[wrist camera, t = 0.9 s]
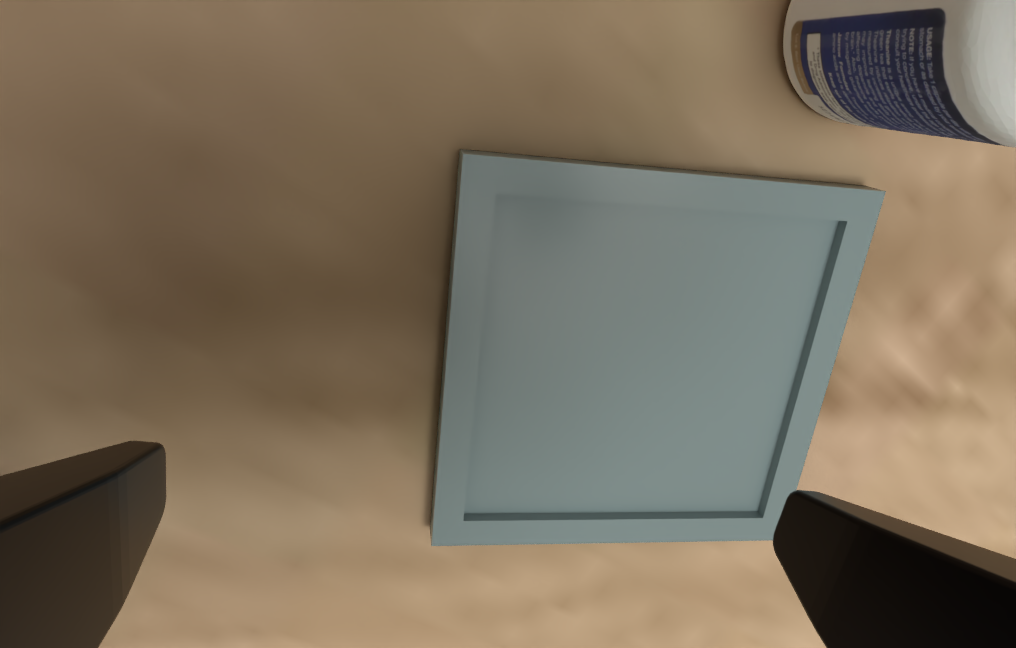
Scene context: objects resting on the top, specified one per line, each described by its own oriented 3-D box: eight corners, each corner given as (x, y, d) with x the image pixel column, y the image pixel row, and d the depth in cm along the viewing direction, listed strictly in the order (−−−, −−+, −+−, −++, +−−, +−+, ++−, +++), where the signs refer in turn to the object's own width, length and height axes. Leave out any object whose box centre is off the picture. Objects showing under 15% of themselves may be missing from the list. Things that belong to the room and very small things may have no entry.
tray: (430, 526, 24) (431, 546, 23) (459, 149, 19) (463, 153, 18) (767, 522, 26) (781, 540, 25) (864, 185, 22) (885, 191, 21)
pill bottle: (908, 135, 21) (1283, 191, 12) (754, 108, 20) (1042, 147, 11) (975, -57, 19) (1473, -155, 10) (810, -99, 18) (1207, -247, 9)
